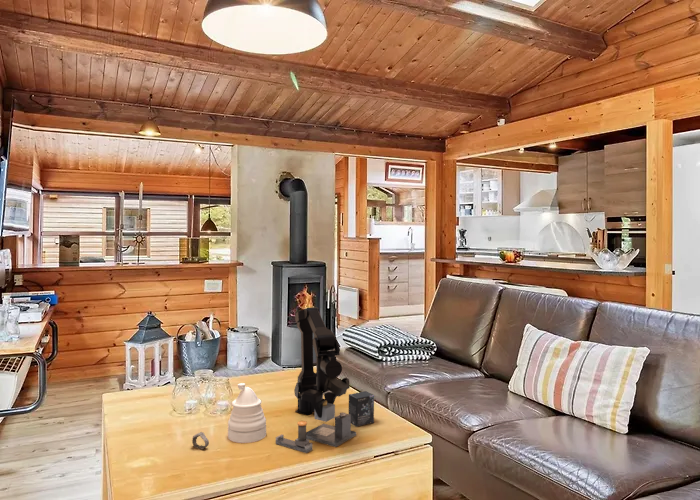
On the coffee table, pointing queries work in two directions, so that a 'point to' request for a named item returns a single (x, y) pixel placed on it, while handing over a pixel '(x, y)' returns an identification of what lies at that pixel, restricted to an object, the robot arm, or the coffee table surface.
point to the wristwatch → (202, 438)
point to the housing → (326, 412)
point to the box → (361, 408)
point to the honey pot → (246, 417)
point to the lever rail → (292, 444)
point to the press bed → (333, 431)
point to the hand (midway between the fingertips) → (324, 415)
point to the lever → (301, 434)
